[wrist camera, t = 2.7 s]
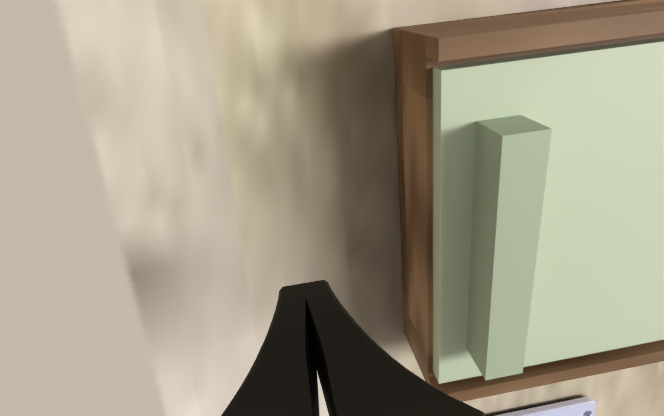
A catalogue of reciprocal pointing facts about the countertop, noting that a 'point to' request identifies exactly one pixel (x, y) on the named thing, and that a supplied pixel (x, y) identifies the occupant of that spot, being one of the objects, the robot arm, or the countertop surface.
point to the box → (417, 159)
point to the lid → (547, 207)
